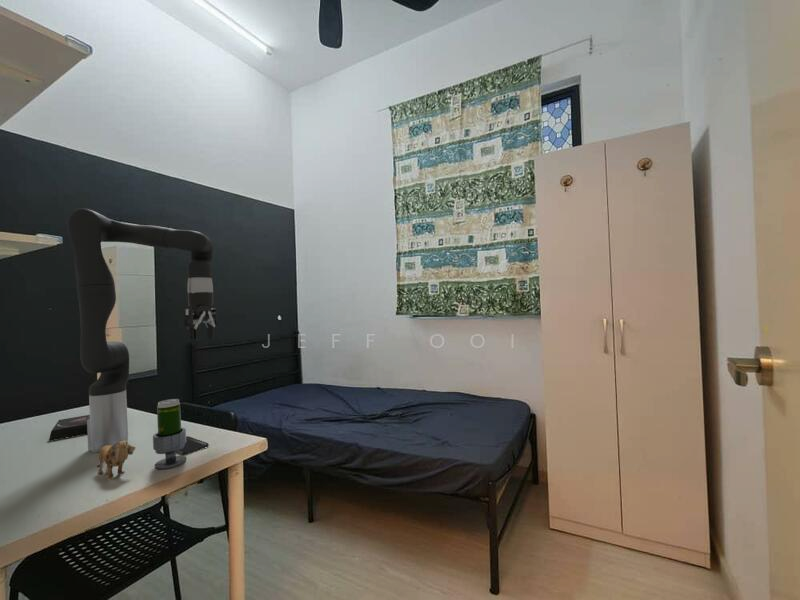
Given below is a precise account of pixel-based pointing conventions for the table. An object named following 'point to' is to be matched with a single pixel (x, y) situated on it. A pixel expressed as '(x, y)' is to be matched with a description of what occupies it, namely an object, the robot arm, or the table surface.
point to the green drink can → (169, 417)
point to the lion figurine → (114, 457)
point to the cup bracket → (169, 449)
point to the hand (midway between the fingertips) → (202, 339)
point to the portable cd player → (70, 427)
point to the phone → (192, 445)
